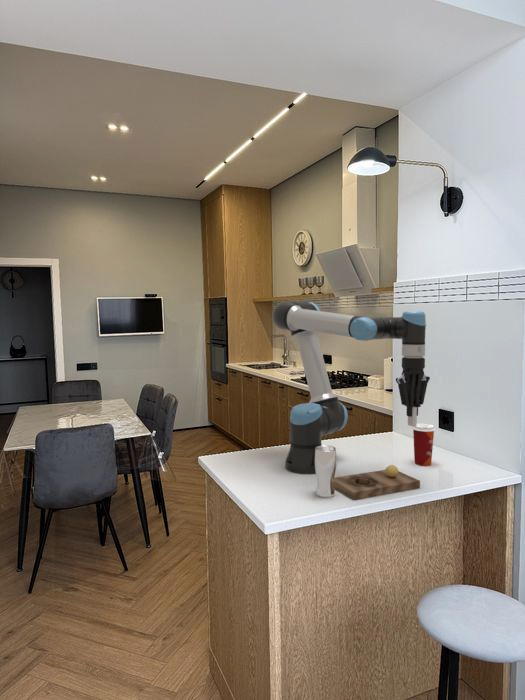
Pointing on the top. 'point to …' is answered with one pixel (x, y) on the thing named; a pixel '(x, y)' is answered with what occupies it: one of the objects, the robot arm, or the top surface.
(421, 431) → the coffee cup
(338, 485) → the board
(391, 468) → the ball
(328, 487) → the beer glass
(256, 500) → the top surface
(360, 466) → the top surface
